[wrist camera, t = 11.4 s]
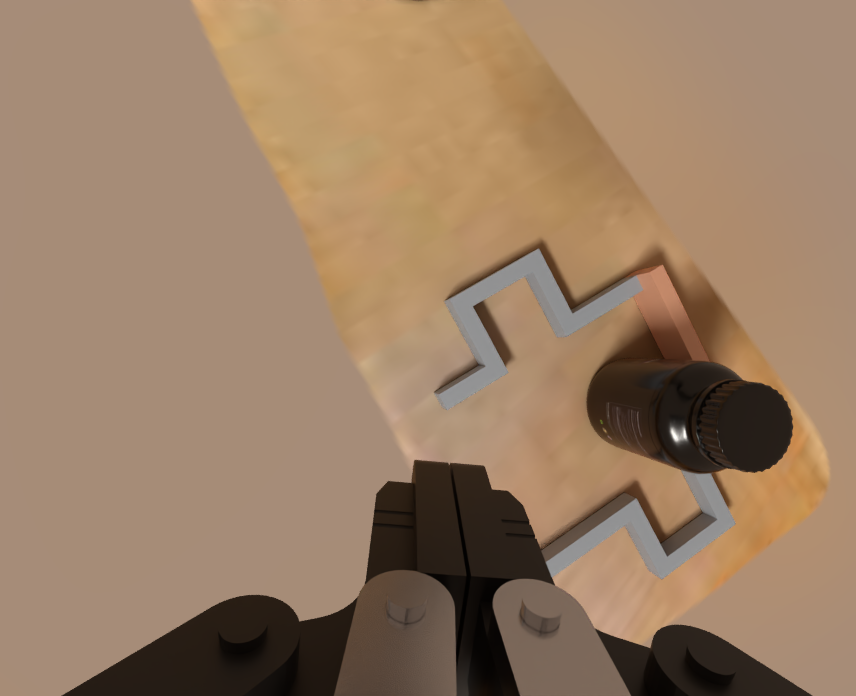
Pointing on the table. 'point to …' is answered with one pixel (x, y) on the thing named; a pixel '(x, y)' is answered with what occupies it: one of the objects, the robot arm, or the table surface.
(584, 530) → the grey zigzag frame
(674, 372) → the supplement bottle
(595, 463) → the table surface
